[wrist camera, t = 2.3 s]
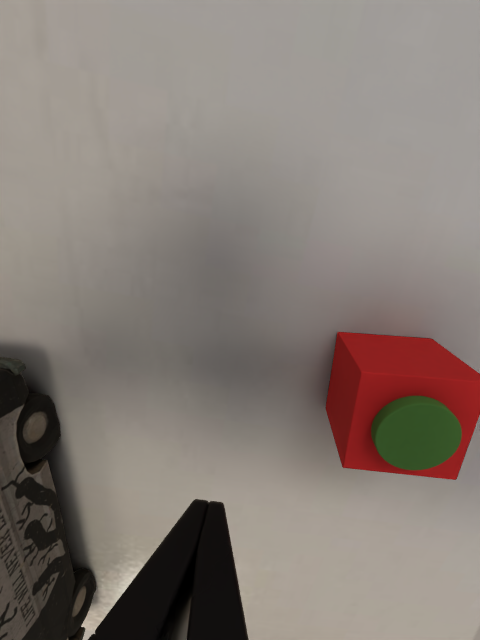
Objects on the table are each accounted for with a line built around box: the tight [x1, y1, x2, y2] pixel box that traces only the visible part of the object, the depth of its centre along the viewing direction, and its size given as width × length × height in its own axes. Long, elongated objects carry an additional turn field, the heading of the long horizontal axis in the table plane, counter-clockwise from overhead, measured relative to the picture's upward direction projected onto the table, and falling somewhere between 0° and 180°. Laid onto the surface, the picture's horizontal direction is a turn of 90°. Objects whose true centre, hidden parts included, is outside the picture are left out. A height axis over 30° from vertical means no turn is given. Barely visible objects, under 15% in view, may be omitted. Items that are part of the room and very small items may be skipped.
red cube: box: [326, 332, 480, 480], centre depth 14 cm, size 5×5×5 cm
